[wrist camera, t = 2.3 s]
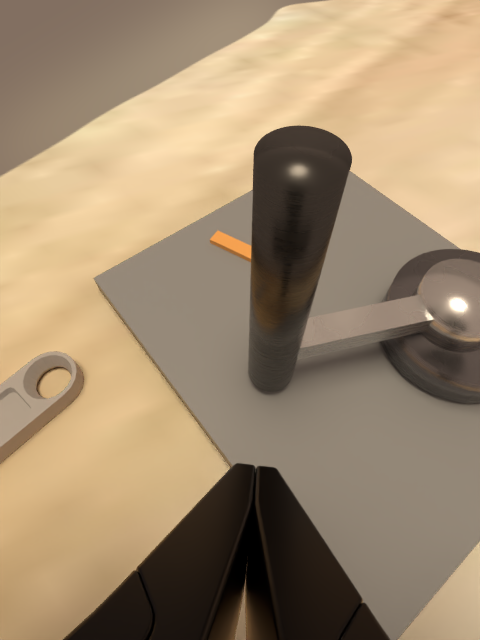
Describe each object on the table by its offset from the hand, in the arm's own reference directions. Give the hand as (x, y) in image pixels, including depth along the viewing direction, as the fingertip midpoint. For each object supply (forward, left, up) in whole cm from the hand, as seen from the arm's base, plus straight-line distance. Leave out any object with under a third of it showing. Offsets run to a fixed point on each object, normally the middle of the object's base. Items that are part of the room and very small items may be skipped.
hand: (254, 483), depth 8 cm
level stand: (+4, -9, -9) cm, 14 cm away
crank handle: (+1, -10, -8) cm, 13 cm away
